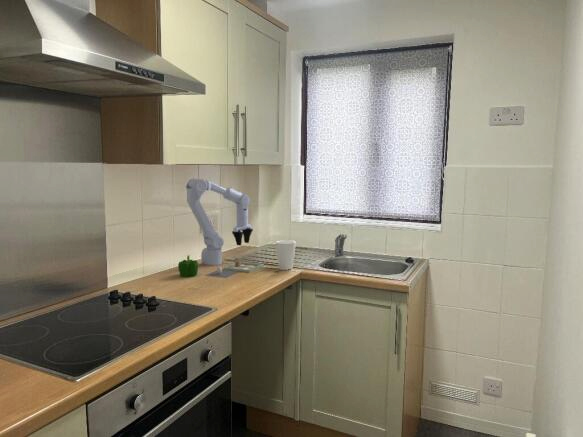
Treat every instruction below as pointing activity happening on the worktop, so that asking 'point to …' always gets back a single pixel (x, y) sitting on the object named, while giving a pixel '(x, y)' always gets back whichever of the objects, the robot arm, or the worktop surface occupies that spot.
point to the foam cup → (285, 253)
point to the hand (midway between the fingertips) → (242, 244)
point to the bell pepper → (188, 268)
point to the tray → (244, 269)
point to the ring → (238, 265)
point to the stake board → (221, 273)
